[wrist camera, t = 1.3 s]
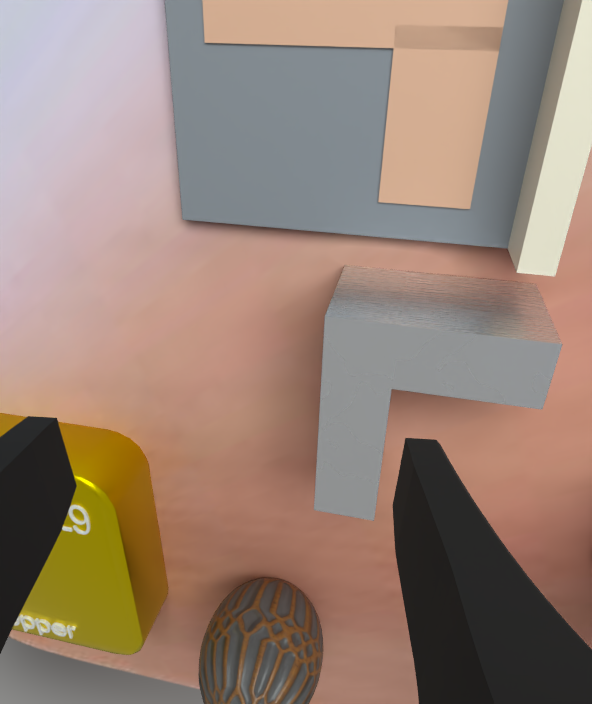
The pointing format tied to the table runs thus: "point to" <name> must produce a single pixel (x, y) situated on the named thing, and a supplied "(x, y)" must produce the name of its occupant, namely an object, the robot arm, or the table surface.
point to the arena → (386, 118)
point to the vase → (262, 647)
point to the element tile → (100, 549)
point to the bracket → (418, 363)
